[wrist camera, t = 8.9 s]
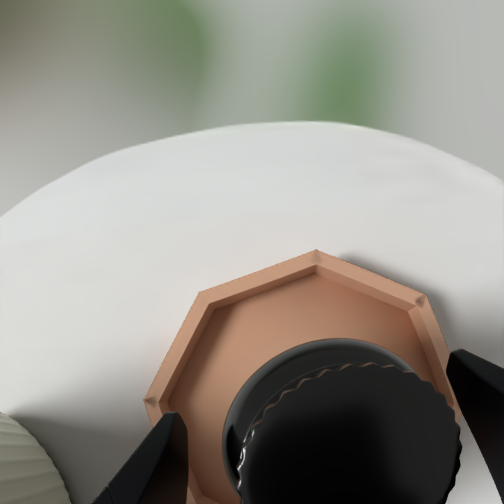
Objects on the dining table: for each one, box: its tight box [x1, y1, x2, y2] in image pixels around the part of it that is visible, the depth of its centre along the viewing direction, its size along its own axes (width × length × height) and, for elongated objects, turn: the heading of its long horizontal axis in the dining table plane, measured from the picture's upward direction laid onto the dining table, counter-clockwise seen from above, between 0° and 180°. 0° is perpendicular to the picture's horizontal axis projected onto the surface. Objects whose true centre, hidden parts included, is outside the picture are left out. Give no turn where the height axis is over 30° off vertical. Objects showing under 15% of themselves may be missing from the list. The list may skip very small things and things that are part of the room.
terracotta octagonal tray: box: [144, 249, 462, 504], centre depth 15 cm, size 17×17×2 cm
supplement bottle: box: [222, 338, 462, 504], centre depth 10 cm, size 7×7×12 cm
